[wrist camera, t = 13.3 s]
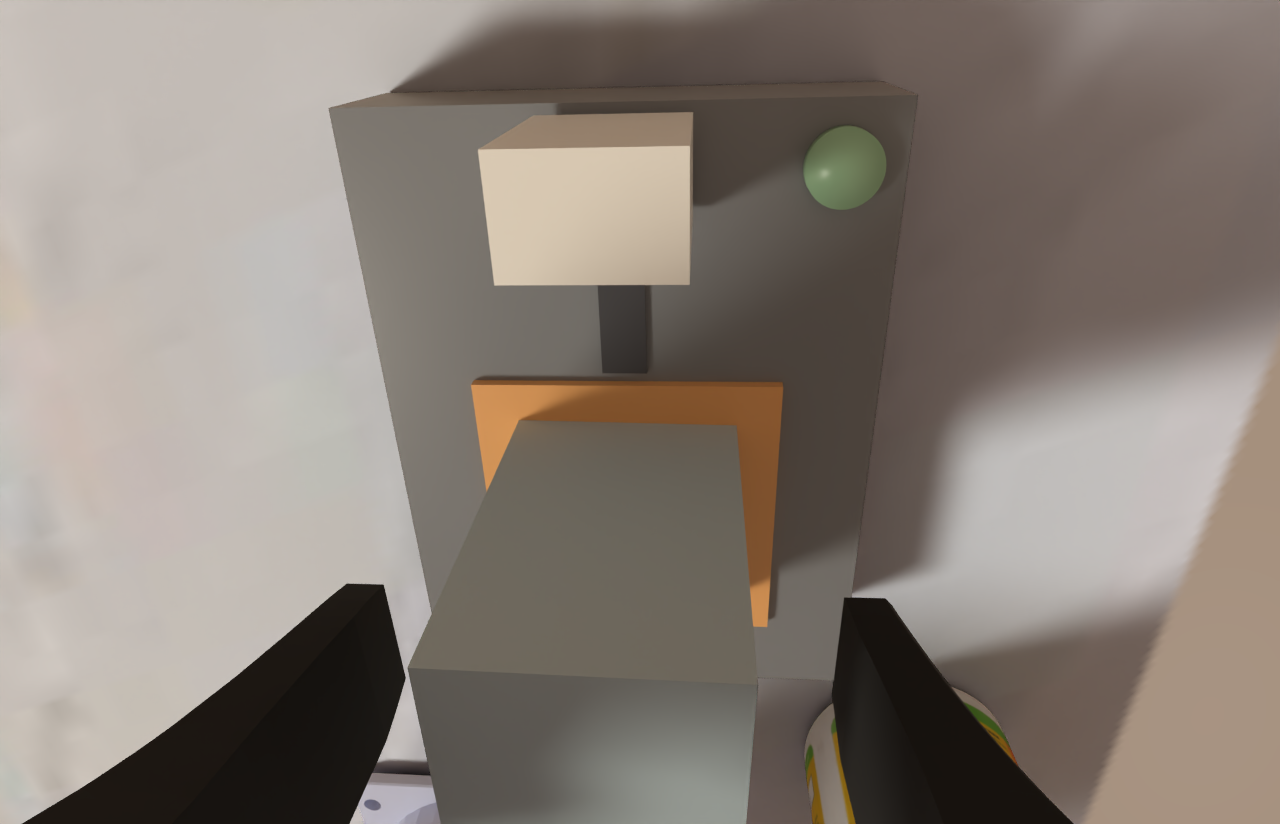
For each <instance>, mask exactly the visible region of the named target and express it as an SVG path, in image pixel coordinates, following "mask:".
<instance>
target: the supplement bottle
mask: <svg viewBox="0 0 1280 824" xmlns="http://www.w3.org/2000/svg"><path fill="white" fill-rule="evenodd" d="M952 689H953V690H954V691H955V692H956V694H957V695H958V696H959V697H960V699H961V700H962V701H963V702H964V703H965V705H966V706H967V707H968V708H969V710H970V711H971V712H972V713H973V715H974V716H975V717H976V718H977V720H978V721H979V722H980V723H981V724H982V726H983V727H984V728H985V729H986V730H987V731H988V733H989V734H990V735H991V736H992V737H993V738H994V740H995V741H996V742H997V743H998V744H999V745H1000V746H1001V748H1002V749H1003V750H1004V751H1005V752H1006V753H1007V754H1008V755H1009V757H1010V758H1011V759H1012V760H1013V761H1014V762H1015V763H1016V764H1017V762H1016V760H1015V757H1014V755H1013V753H1012V750H1011V748H1010V746H1009V743H1008V741H1007V739H1006V737H1005V735H1004V732H1003V730H1002V729H1001V727H1000V725H999V723H998V721H997V720H996V718H995V717H994V716H993V714H992V713H991V712H990V711H989V710H988V709H987V708H986V707H985V706H984V705H983V704H982V703H980V702H979V701H978V700H976V699H975V698H973V697H972V696H970V695H969V694H967V693H965V692H963V691H961V690H958V689H956V688H953V687H952ZM804 760H805V770H806V779H807V786H808V794H809V801H810V807H811V813H812V821H813V824H856V823H855V819H854V815H853V811H852V806H851V802H850V798H849V794H848V790H847V786H846V782H845V777H844V773H843V769H842V765H841V760H840V753H839V746H838V738H837V731H836V723H835V715H834V707H833V703H832V704H830V705H829V706H828V707H827V708H826V709H825V710H824V711H823V712H822V713H821V714H820V715H819V716H818V718H817V719H816V720H815V722H814V723H813V725H812V727H811V729H810V731H809V733H808V736H807V739H806V743H805V750H804ZM1017 766H1018V764H1017Z"/></svg>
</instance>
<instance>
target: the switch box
mask: <svg viewBox="0 0 1280 824" xmlns="http://www.w3.org/2000/svg"><path fill="white" fill-rule="evenodd" d="M917 98H918V95H917V94H914V93H912V92H909V91H907V90H904V89H901V88H899V87H896V86H894V85H891V84H889V83H886V82H883V81H867V82H825V83H783V84H741V85H699V86H657V87H615V88H573V89H531V90H488V91H446V92H404V93H385V94H381V95H377V96H373V97H369V98H365V99H362V100H358V101H354V102H350V103H346V104H342V105H338V106H335V107H331V108H329V113H330V118H331V123H332V128H333V132H334V137H335V142H336V147H337V152H338V157H339V162H340V167H341V172H342V176H343V181H344V186H345V191H346V196H347V201H348V206H349V211H350V216H351V220H352V225H353V230H354V235H355V240H356V245H357V250H358V255H359V260H360V265H361V269H362V274H363V279H364V284H365V289H366V294H367V299H368V304H369V309H370V313H371V318H372V323H373V328H374V333H375V338H376V343H377V348H378V353H379V357H380V362H381V367H382V372H383V377H384V382H385V387H386V392H387V397H388V401H389V406H390V411H391V416H392V421H393V426H394V431H395V436H396V441H397V445H398V450H399V455H400V460H401V465H402V470H403V475H404V480H405V485H406V490H407V494H408V499H409V504H410V509H411V514H412V519H413V524H414V529H415V534H416V538H417V543H418V548H419V553H420V558H421V563H422V568H423V573H424V578H425V582H426V587H427V592H428V597H429V602H430V607H431V612H433V610H434V608H435V606H436V604H437V601H438V599H439V597H440V595H441V592H442V590H443V588H444V586H445V584H446V581H447V579H448V577H449V575H450V572H451V570H452V568H453V566H454V564H455V561H456V559H457V557H458V555H459V552H460V550H461V548H462V546H463V543H464V541H465V539H466V537H467V535H468V532H469V530H470V528H471V526H472V523H473V521H474V519H475V517H476V515H477V512H478V510H479V508H480V506H481V503H482V501H483V499H484V497H485V495H486V492H487V490H488V488H489V486H490V483H491V481H492V479H493V477H494V475H495V472H496V470H497V468H498V466H499V463H500V461H501V459H502V457H503V454H504V452H505V450H506V448H507V446H508V443H509V441H510V439H511V437H512V434H513V432H514V430H515V428H516V426H517V423H518V421H519V420H538V421H578V422H618V423H659V424H699V425H737V436H738V448H739V461H740V473H741V485H742V497H743V509H744V522H745V534H746V546H747V558H748V570H749V583H750V595H751V607H752V619H753V631H754V644H755V656H756V668H757V678H777V679H804V680H832V681H834V674H835V666H836V658H837V650H838V642H839V634H840V626H841V618H842V610H843V602H844V597H848V598H851V596H852V589H853V581H854V574H855V566H856V559H857V551H858V543H859V536H860V528H861V521H862V513H863V506H864V498H865V491H866V483H867V476H868V468H869V460H870V453H871V445H872V438H873V430H874V423H875V415H876V408H877V400H878V393H879V385H880V377H881V370H882V362H883V355H884V347H885V340H886V332H887V325H888V317H889V310H890V302H891V294H892V287H893V279H894V272H895V264H896V257H897V249H898V242H899V234H900V227H901V219H902V211H903V204H904V196H905V189H906V181H907V174H908V166H909V159H910V151H911V144H912V136H913V128H914V121H915V113H916V106H917ZM672 112H693V224H692V245H691V266H690V285H496V286H494V279H493V271H492V262H491V254H490V246H489V238H488V229H487V221H486V213H485V205H484V197H483V188H482V180H481V172H480V164H479V156H478V149H480V148H481V147H483V146H484V145H486V144H488V143H489V142H491V141H493V140H494V139H496V138H498V137H499V136H501V135H502V134H504V133H506V132H507V131H509V130H511V129H512V128H514V127H515V126H517V125H519V124H520V123H522V122H524V121H525V120H527V119H528V118H530V117H532V116H533V115H577V114H625V113H672Z"/></svg>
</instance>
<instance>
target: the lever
mask: <svg viewBox="0 0 1280 824" xmlns="http://www.w3.org/2000/svg"><path fill="white" fill-rule="evenodd" d="M478 156H479V164H480V172H481V180H482V188H483V197H484V205H485V213H486V221H487V229H488V238H489V246H490V254H491V262H492V271H493V279H494V286H496V285H690V266H691V245H692V224H693V112H672V113H625V114H577V115H533V116H532V117H530V118H528V119H527V120H525V121H524V122H522V123H520V124H519V125H517V126H515V127H514V128H512V129H511V130H509V131H507V132H506V133H504V134H502V135H501V136H499V137H498V138H496V139H494V140H493V141H491V142H489V143H488V144H486V145H484V146H483V147H481V148H480V149H478Z"/></svg>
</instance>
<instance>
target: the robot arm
mask: <svg viewBox="0 0 1280 824" xmlns="http://www.w3.org/2000/svg"><path fill="white" fill-rule="evenodd" d="M405 679H406V677H405V673H404V669H403V665H402V660H401V656H400V652H399V648H398V644H397V639H396V635H395V631H394V627H393V622H392V618H391V614H390V610H389V605H388V601H387V597H386V593H385V589H384V585H376V584H346V585H345V586H343V587H342V588H341V589H340V590H338V591H337V592H336V593H335V594H333V595H332V596H331V597H330V598H329V599H327V600H326V601H325V602H324V603H323V604H321V605H320V606H319V607H318V608H317V609H316V610H314V611H313V612H312V613H311V614H310V615H309V616H307V617H306V618H305V619H304V620H303V621H302V622H300V623H299V624H298V625H297V626H296V627H295V628H293V629H292V630H291V631H290V632H289V633H287V634H286V635H285V636H284V637H283V638H282V639H280V640H279V641H278V642H277V643H276V644H274V645H273V646H272V647H271V648H270V649H268V650H267V651H266V652H265V653H264V654H262V655H261V656H260V657H259V658H258V659H256V660H255V661H254V662H253V663H252V664H250V665H249V666H248V667H247V668H246V669H244V670H243V671H242V672H241V673H240V674H238V675H237V676H236V677H235V678H234V679H232V680H231V681H230V682H228V683H227V684H226V685H225V686H223V687H222V688H221V689H219V690H218V691H217V692H215V693H214V694H213V695H212V696H210V697H209V698H208V699H206V700H205V701H204V702H203V703H201V704H200V705H199V706H197V707H196V708H195V709H193V710H192V711H191V712H190V713H188V714H187V715H186V716H184V717H183V718H182V719H181V720H179V721H178V722H177V723H175V724H174V725H173V726H171V727H170V728H169V729H167V730H166V731H165V732H163V733H162V734H160V735H159V736H158V737H156V738H155V739H154V740H152V741H151V742H149V743H148V744H146V745H145V746H144V747H142V748H141V749H139V750H138V751H136V752H135V753H134V754H132V755H131V756H129V757H128V758H126V759H125V760H123V761H122V762H120V763H119V764H117V765H116V766H114V767H113V768H111V769H110V770H108V771H107V772H105V773H104V774H102V775H101V776H99V777H98V778H96V779H95V780H93V781H92V782H90V783H88V784H87V785H85V786H84V787H82V788H81V789H79V790H77V791H76V792H74V793H72V794H71V795H69V796H67V797H66V798H64V799H62V800H61V801H59V802H57V803H56V804H54V805H52V806H51V807H49V808H47V809H46V810H44V811H42V812H41V813H39V814H37V815H36V816H34V817H32V818H31V819H29V820H27V821H26V822H24V823H22V824H349V823H350V821H351V819H352V817H353V814H354V812H355V810H356V808H357V806H359V809H360V813H361V816H362V819H363V822H364V824H441V822H440V818H439V813H438V808H437V804H436V799H435V794H434V789H433V785H432V780H431V776H428V775H408V774H387V773H372V772H373V770H374V768H375V766H376V763H377V761H378V759H379V757H380V754H381V752H382V750H383V747H384V745H385V743H386V740H387V737H388V734H389V731H390V728H391V725H392V722H393V719H394V716H395V713H396V709H397V706H398V703H399V699H400V696H401V692H402V689H403V686H404V682H405ZM832 699H833V707H834V715H835V723H836V731H837V738H838V746H839V753H840V760H841V765H842V769H843V773H844V777H845V782H846V786H847V790H848V794H849V798H850V802H851V806H852V811H853V815H854V819H855V823H856V824H1073V823H1072V822H1071V821H1070V820H1069V819H1068V818H1067V817H1066V816H1065V815H1064V814H1063V813H1062V812H1061V811H1060V810H1059V809H1058V808H1057V807H1056V806H1055V805H1054V804H1053V803H1052V802H1051V801H1050V800H1049V799H1048V798H1047V797H1046V796H1045V794H1044V793H1043V792H1042V791H1041V790H1040V789H1039V788H1038V787H1037V786H1036V785H1035V784H1034V783H1033V782H1032V781H1031V780H1030V779H1029V778H1028V776H1027V775H1026V774H1025V773H1024V772H1023V771H1022V770H1021V769H1020V768H1019V767H1018V766H1017V764H1016V763H1015V762H1014V761H1013V760H1012V759H1011V758H1010V757H1009V755H1008V754H1007V753H1006V752H1005V751H1004V750H1003V749H1002V748H1001V746H1000V745H999V744H998V743H997V742H996V741H995V740H994V738H993V737H992V736H991V735H990V734H989V733H988V731H987V730H986V729H985V728H984V727H983V726H982V724H981V723H980V722H979V721H978V720H977V718H976V717H975V716H974V715H973V713H972V712H971V711H970V710H969V708H968V707H967V706H966V705H965V703H964V702H963V701H962V700H961V699H960V697H959V696H958V695H957V694H956V692H955V691H954V690H953V689H952V687H951V686H950V685H949V684H948V682H947V681H946V680H945V678H944V677H943V676H942V674H941V673H940V672H939V671H938V669H937V668H936V667H935V665H934V664H933V663H932V661H931V660H930V659H929V657H928V656H927V654H926V653H925V652H924V650H923V649H922V648H921V646H920V645H919V644H918V642H917V641H916V639H915V638H914V637H913V635H912V634H911V632H910V631H909V629H908V628H907V627H906V625H905V624H904V622H903V621H902V619H901V618H900V617H899V615H898V614H897V612H896V611H895V609H894V608H893V606H892V605H891V604H890V603H889V602H888V601H887V600H886V599H885V598H848V597H844V602H843V610H842V618H841V626H840V634H839V642H838V650H837V658H836V666H835V674H834V682H833V690H832Z"/></svg>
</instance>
